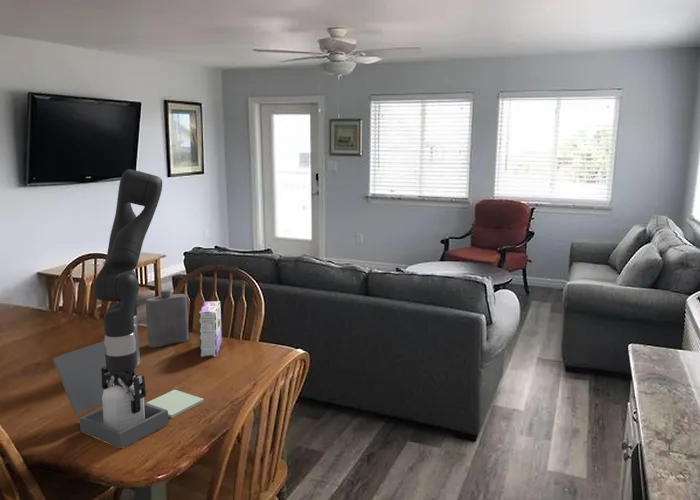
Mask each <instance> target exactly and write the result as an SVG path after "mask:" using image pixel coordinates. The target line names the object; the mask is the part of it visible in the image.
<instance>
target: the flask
mask: <svg viewBox="0 0 700 500" xmlns="http://www.w3.org/2000/svg"><path fill="white" fill-rule="evenodd" d="M188 315H189V314H188V295H187V294H185V293H175V294H174V293H173V294H172V293H171V290H170V289H162V290H161V291H160V296H153V297H149V298H146V299H145V316H146V333H147V347H149V348H152V349H153V348H154V349H155V348H159V347H164V346H167V345H172V344H173V345H174V344H178V343H179V344H180V343H185V342H188V341H189V339H190V338H189V316H188Z"/></svg>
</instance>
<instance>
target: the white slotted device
mask: <svg viewBox="0 0 700 500" xmlns="http://www.w3.org/2000/svg"><path fill="white" fill-rule="evenodd" d="M133 387H134V386H133V384H132V386H131V387H129V388H133ZM132 393H133V395H135V391H132ZM140 393H141V390H140ZM144 402H145V397H143V398H141V399H140V407H141V409H140V411H139V412H138V413H136V414H133V413H132V412H131V399H130V397H129V395H128V394H126V393H125V391H124V389H122V387H120V386H117V385H115V386H112V387H110V388H107V389H106V390H104V391H103V396H102V403H103V404H102V408H103V421H104V423H103V425H106V426H108V427H111V428H113V429H116V430H118V431H123V430H125V429H127V428H129V427H131V426H133V425H135V424H137V423H139V422H141V421H143V420H145V419H146V418H145V412H144Z"/></svg>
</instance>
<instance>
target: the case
mask: <svg viewBox="0 0 700 500" xmlns="http://www.w3.org/2000/svg"><path fill="white" fill-rule="evenodd" d="M144 412H145V420H143V421H141V422H139V423H137V424H135V425H133V426H131V427H129V428H127V429H125V430H123V431H118V430H116V429H113V428H111V427H108V426H106V425H104V423H103V422H104V421H103V407H101V408H99V409H96V410H94V411H92V412H89V413H87V414H85V415H82V416H81V417H79V419H78V420H79V429H80V431H82V432H84V433H86V434H89V435H91V436H94V437H96V438H99V439H101V440H103V441H106V442H108V443H110V444H112V445H114V446H113V447H115V446H116V447H115V448H117V447H119V448H123V447H125V446H126V447H128V446H130V445H132V444H134V443H136V442H138V441H139V439H140V440H141V438H142V439H143V437H144V438H145V437H147V436H149V435H151V434H153V433H155V432H156V430H157V431H159V430H161V429H162V427H163V428H164V427H166V426H168V425H169V417H168V410H165V409H162V408H160V407H157V406H154V405H151V404H148V403H147V402H145V401H144ZM101 423H103V424H101ZM160 428H161V429H160ZM158 429H159V430H158ZM154 431H155V432H154ZM152 432H153V433H152ZM84 433H83V434H84ZM150 433H151V434H150ZM86 434H85V435H86ZM89 435H88V436H89ZM91 436H90V437H91ZM96 438H95V439H96ZM137 440H138V441H137ZM103 441H102V442H103ZM135 441H136V442H135ZM133 442H134V443H133ZM131 443H132V444H131ZM110 444H109V445H110ZM129 444H130V445H129ZM112 445H111V446H112ZM127 445H128V446H127ZM126 447H125V448H126ZM119 448H118V449H119ZM123 449H124V448H123Z"/></svg>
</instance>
